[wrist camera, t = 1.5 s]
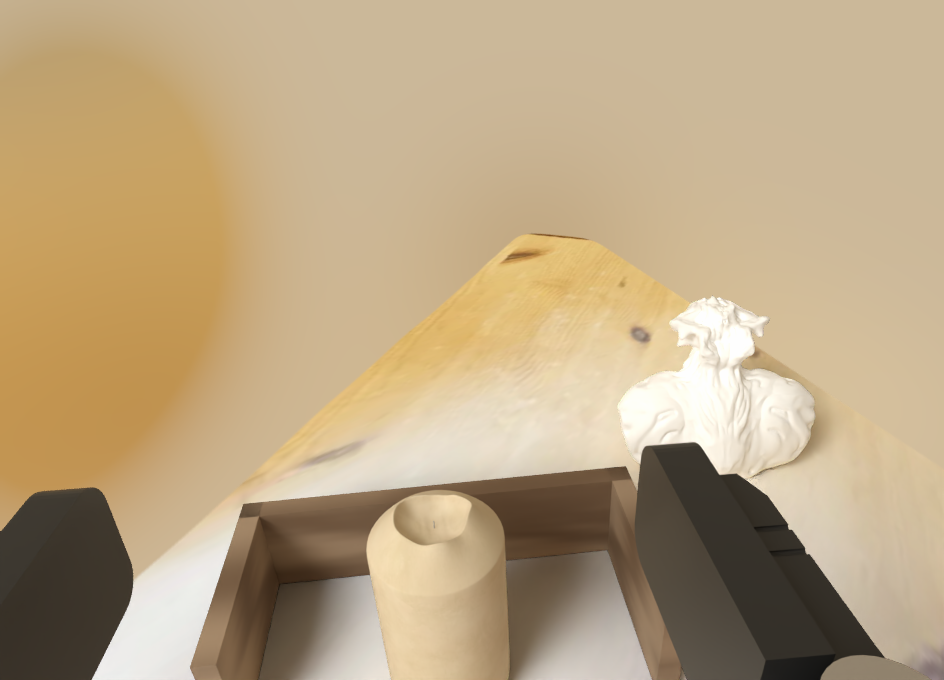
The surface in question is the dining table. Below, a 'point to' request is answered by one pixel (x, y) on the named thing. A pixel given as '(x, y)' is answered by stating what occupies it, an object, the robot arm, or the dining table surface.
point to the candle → (441, 588)
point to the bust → (720, 397)
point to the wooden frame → (344, 555)
